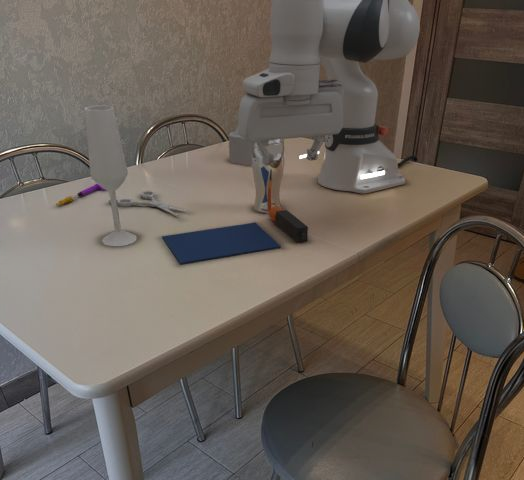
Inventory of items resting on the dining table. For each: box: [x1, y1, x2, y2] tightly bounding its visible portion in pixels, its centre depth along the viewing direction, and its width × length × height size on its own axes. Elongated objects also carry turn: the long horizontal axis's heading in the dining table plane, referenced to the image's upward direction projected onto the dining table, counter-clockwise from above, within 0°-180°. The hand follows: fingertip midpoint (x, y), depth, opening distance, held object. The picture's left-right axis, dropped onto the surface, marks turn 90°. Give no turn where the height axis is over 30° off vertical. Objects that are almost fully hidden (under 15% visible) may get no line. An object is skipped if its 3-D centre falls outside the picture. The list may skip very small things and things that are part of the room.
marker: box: [268, 206, 309, 244], centre depth 108 cm, size 14×3×3 cm, turn 23°
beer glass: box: [251, 139, 285, 214], centre depth 116 cm, size 7×7×15 cm
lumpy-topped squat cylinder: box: [228, 125, 253, 167], centre depth 151 cm, size 10×13×9 cm
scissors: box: [108, 190, 190, 218], centre depth 120 cm, size 11×1×20 cm
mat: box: [161, 222, 282, 265], centre depth 104 cm, size 20×13×1 cm, turn 113°
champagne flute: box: [84, 104, 137, 247], centre depth 98 cm, size 7×7×24 cm
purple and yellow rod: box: [56, 183, 106, 206], centre depth 125 cm, size 3×1×16 cm
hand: (290, 162), depth 101 cm, fingers open, 8 cm apart
